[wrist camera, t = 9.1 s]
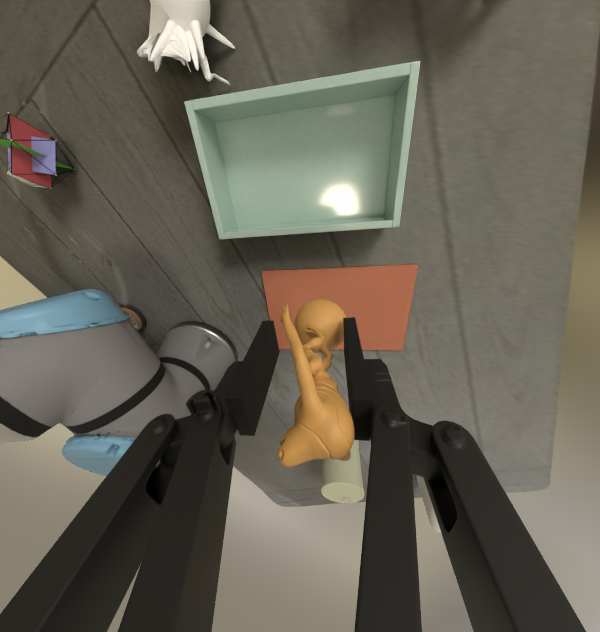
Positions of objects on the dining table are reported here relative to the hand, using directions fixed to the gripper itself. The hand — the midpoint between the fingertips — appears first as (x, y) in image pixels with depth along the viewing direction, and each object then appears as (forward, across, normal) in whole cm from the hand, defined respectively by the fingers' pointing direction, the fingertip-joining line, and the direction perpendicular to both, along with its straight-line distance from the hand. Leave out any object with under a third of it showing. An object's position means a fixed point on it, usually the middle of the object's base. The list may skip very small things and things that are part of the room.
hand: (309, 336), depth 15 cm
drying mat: (+21, +2, -10) cm, 24 cm away
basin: (+21, -1, +11) cm, 24 cm away
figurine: (+3, +2, 0) cm, 4 cm away
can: (+22, +2, -48) cm, 53 cm away
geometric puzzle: (+22, -36, +17) cm, 46 cm away
